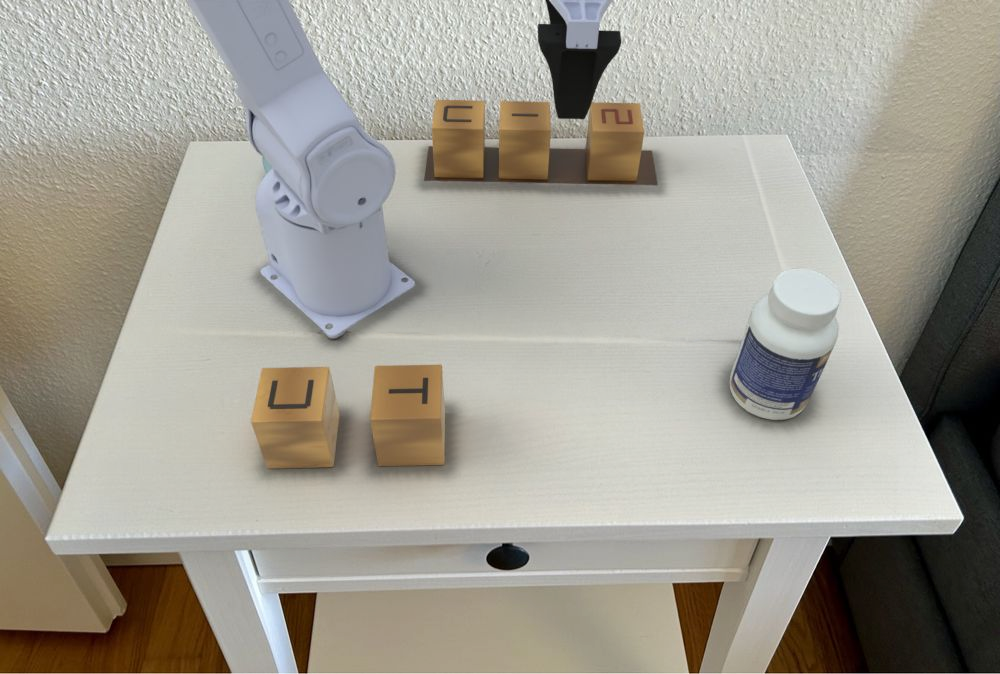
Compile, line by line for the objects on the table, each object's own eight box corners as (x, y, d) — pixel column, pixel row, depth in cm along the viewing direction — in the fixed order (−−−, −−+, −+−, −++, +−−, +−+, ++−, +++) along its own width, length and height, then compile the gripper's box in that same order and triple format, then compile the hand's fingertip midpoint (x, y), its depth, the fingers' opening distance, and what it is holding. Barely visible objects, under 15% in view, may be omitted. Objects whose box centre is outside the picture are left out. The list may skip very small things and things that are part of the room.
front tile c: (267, 469, 53) (250, 421, 50) (276, 415, 56) (261, 366, 52) (333, 467, 54) (322, 420, 50) (340, 414, 56) (329, 365, 53)
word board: (424, 185, 73) (423, 180, 72) (428, 151, 76) (428, 145, 76) (656, 190, 73) (658, 185, 72) (651, 155, 76) (652, 150, 75)
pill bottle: (809, 429, 56) (857, 329, 49) (727, 415, 57) (761, 315, 49) (806, 367, 59) (850, 266, 52) (728, 355, 60) (761, 254, 53)
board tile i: (498, 178, 72) (499, 128, 69) (499, 149, 75) (500, 100, 72) (547, 179, 72) (550, 129, 69) (546, 150, 75) (549, 101, 72)
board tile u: (434, 177, 73) (431, 127, 69) (438, 148, 75) (435, 98, 72) (483, 178, 72) (483, 128, 69) (485, 149, 75) (484, 99, 72)
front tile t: (378, 466, 54) (369, 419, 50) (382, 413, 56) (374, 364, 53) (444, 465, 54) (440, 418, 50) (445, 412, 57) (442, 363, 53)
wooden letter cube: (587, 180, 72) (592, 130, 69) (585, 151, 75) (590, 101, 72) (636, 181, 72) (644, 131, 69) (632, 152, 75) (640, 102, 71)
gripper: (657, -48, 50) (629, 144, 60) (636, -137, 60) (614, 41, 70) (539, -50, 50) (530, 142, 60) (537, -139, 60) (529, 39, 70)
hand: (569, 88), depth 65 cm, fingers open, 7 cm apart
